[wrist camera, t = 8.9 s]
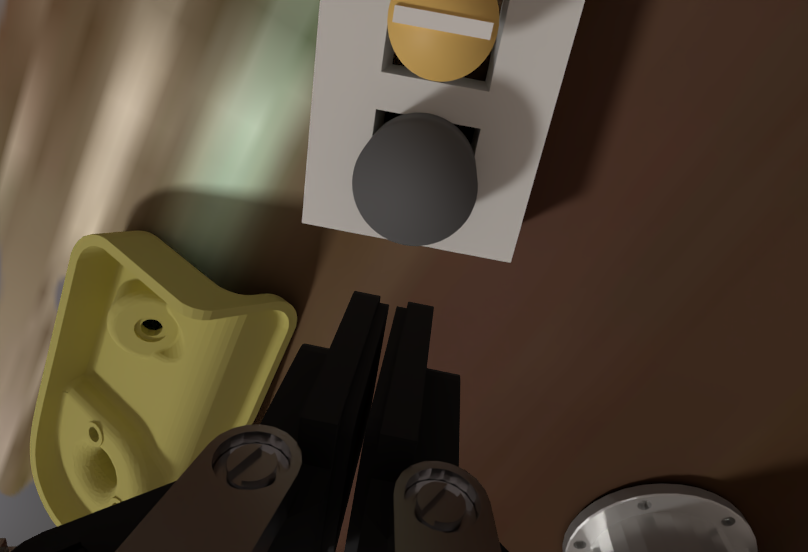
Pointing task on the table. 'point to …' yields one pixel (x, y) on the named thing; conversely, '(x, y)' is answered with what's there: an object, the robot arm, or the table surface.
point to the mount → (437, 112)
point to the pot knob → (442, 35)
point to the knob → (416, 179)
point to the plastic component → (144, 372)
